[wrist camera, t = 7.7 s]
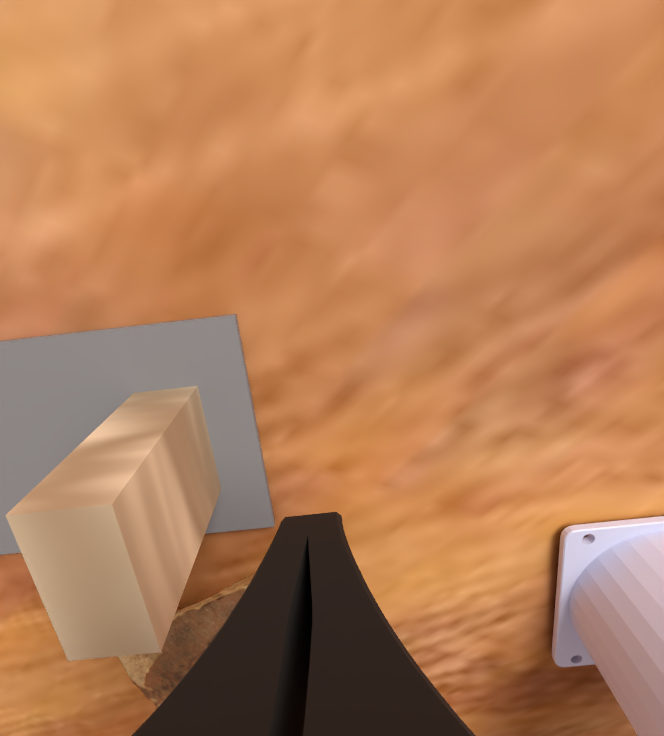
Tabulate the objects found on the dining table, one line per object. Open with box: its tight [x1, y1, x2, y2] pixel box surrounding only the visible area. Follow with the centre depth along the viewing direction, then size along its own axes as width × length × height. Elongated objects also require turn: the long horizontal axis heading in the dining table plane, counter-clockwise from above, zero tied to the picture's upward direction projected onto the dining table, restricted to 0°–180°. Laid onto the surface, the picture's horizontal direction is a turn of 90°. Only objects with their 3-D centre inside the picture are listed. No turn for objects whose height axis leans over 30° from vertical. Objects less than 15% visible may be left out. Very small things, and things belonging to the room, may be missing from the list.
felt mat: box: [0, 314, 275, 555], centre depth 17 cm, size 14×9×1 cm, turn 96°
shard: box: [118, 572, 256, 707], centre depth 21 cm, size 11×8×2 cm
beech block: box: [5, 386, 221, 661], centre depth 14 cm, size 2×4×7 cm, turn 6°
